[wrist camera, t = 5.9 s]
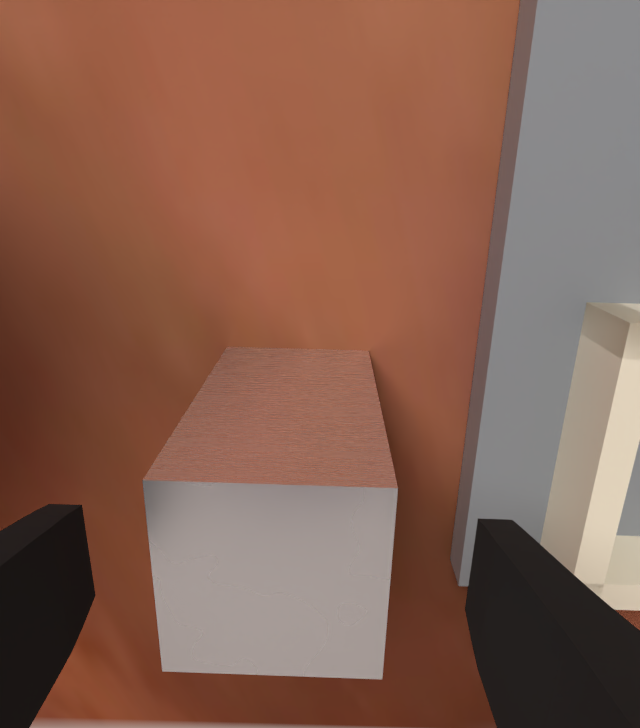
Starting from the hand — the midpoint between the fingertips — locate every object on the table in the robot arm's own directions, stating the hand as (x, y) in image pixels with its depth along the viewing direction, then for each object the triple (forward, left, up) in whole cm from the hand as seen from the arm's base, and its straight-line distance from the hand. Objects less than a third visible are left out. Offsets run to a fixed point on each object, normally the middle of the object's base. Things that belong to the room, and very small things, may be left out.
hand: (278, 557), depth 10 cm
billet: (0, 0, -6) cm, 6 cm away
